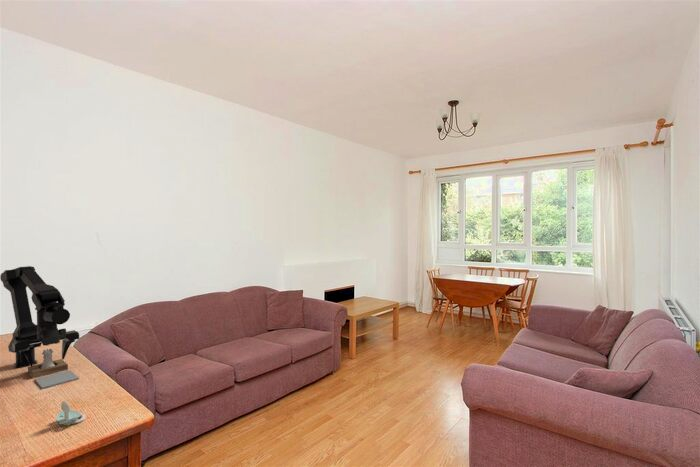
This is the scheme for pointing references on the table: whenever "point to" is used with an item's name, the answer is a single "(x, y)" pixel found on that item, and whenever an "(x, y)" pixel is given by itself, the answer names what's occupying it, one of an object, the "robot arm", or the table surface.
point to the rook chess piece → (47, 359)
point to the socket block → (37, 371)
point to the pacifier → (68, 415)
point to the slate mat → (56, 379)
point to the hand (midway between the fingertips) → (47, 362)
